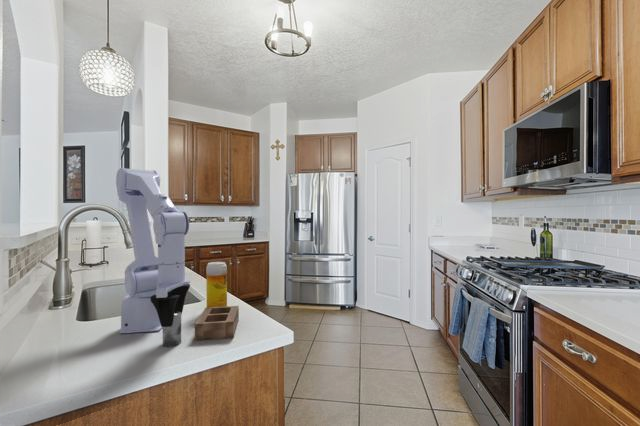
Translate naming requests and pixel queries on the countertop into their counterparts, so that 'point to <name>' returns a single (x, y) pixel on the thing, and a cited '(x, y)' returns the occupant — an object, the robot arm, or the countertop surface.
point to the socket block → (217, 323)
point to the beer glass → (216, 284)
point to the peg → (173, 332)
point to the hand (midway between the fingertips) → (172, 320)
